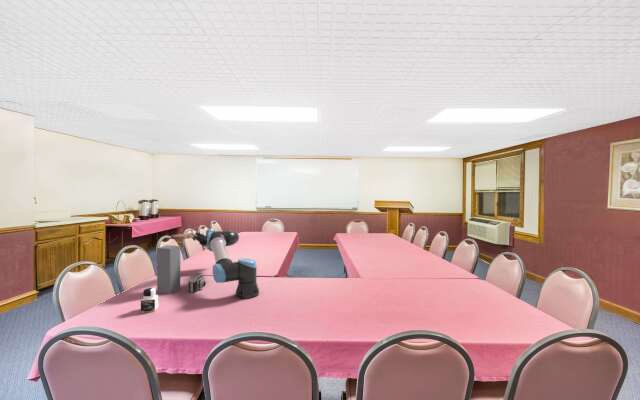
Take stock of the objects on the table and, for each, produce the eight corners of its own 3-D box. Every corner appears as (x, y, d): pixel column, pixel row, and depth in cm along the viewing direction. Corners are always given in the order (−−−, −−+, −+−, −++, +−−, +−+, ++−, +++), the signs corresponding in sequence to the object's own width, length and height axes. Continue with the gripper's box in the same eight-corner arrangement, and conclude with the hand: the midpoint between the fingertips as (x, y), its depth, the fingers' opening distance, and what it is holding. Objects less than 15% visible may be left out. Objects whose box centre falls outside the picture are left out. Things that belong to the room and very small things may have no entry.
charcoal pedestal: (167, 287, 201) (167, 245, 200) (180, 288, 199) (180, 245, 198) (157, 292, 191) (156, 248, 190) (170, 293, 189) (170, 248, 188)
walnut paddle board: (189, 234, 225) (189, 232, 225) (202, 235, 222) (202, 232, 222) (170, 238, 204) (170, 236, 204) (184, 239, 202) (184, 236, 202)
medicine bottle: (140, 312, 159) (140, 291, 158) (144, 307, 165) (144, 287, 165) (154, 311, 160) (154, 290, 160) (158, 306, 167) (158, 286, 167)
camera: (200, 293, 191) (200, 278, 191) (188, 293, 191) (188, 278, 190) (208, 286, 205) (208, 272, 205) (196, 286, 205) (196, 272, 204)
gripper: (213, 246, 234) (198, 236, 214) (195, 246, 237) (178, 235, 217) (216, 238, 237) (201, 227, 217) (198, 237, 240) (182, 226, 220)
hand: (190, 231), depth 217 cm, fingers closed on walnut paddle board, 3 cm apart
